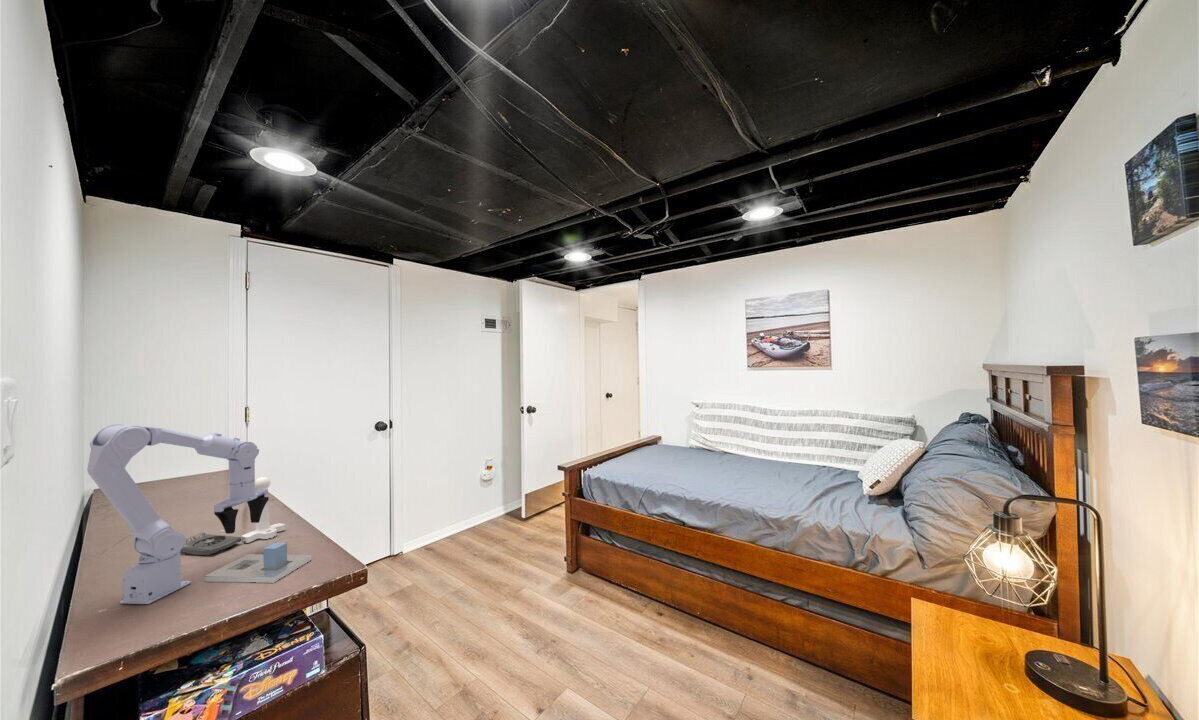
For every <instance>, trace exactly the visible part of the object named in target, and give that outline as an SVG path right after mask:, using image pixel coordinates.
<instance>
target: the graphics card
mask: <svg viewBox="0 0 1199 720" xmlns="http://www.w3.org/2000/svg"><path fill="white" fill-rule="evenodd" d="M240 542H241V543H242V536H235V535H234V536H232V535H220V534H206V531H202V532H200V533H198V534H196V535H193V536H190V537H187V538H185V544H184V546H183V548H182V549H181V550H180V556H181V555H182V556H183V555H186V554H187V555H188V554H189V555H199V556H200V555H201V556H202V555H203V556H210V555H212V554H215V553H217V552H219V550H220V551H221V550H222V551H223V549H226V548H229V547H232V546H233V545H236V544H238V543H240Z"/></svg>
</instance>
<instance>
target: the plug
mask: <svg viewBox="0 0 1199 720" xmlns="http://www.w3.org/2000/svg"><path fill="white" fill-rule="evenodd" d="M287 546H288V542H273V543H271V544H270V545H267V546H266V547H263V548H262V550H263V562H264V570H278V569H280V568H282V567H284V566H285V565H287V555H288V547H287Z"/></svg>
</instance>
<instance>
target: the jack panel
mask: <svg viewBox="0 0 1199 720" xmlns="http://www.w3.org/2000/svg"><path fill="white" fill-rule="evenodd" d="M310 560H311V561H312V555H309V554H308V555H307V554H287V565H285V566H284V567H282V568H280V569H278V570H264V562H263V554H257V553H256V554H255V553H254V554H253V553H251V554H249V553H248V554H245V555H244V556H241V557H240V558H238V559H236V560H234V561H231V562H230V563H228V564H225V565H224V566H221V567H220V568H218V569H216V570H214V571H212V572H209V573H208V574H206V575H204V582H209V583H210V582H215V583H250V582H256V583H257V584H262V583H263V584H274V583H276V582H278V581H280V580H281V579H283V578H285V577H286V576H288V575H289V574H292V571H293V572H294V571H296V570H298V569H300V568H301V567H303V566H304V565H306V564H308V563H309V562H311V561H310ZM307 562H308V563H307ZM302 565H303V566H302ZM244 566H248V567H246V568H244V569H240V568H242V567H244ZM297 568H298V569H297ZM284 576H285V577H284ZM279 579H280V580H279ZM256 583H255V584H256Z"/></svg>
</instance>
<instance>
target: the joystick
mask: <svg viewBox="0 0 1199 720" xmlns="http://www.w3.org/2000/svg"><path fill="white" fill-rule="evenodd" d="M270 486H271V479H270V478H268V477H266V476H261V477H258V478H255V491H257V490H260V489H268V488H270ZM265 497H268V495H266V496H265ZM268 501H269V500H268ZM268 501H267V503H266V505H265V506H264V509H263V511H262V514H261V517H260V521H259V522H258V523H255V530H252V531H249V532H247V533H245V534H242V535H241V544H245V543H246V544H249V543H251V542H253V541H256V540H259V539H261V540H263V539H268V538H272V537H274V536H275V537H276V536H278V535H277V533H280V532H283V531H285V529H286V525H285V523H280V522H278V523H275V524H271V523H270V515H269V504H268V503H269V502H268ZM270 524H271V525H270ZM275 537H274V538H275ZM272 539H273V538H272ZM268 540H269V539H268ZM244 542H245V543H244Z"/></svg>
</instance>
